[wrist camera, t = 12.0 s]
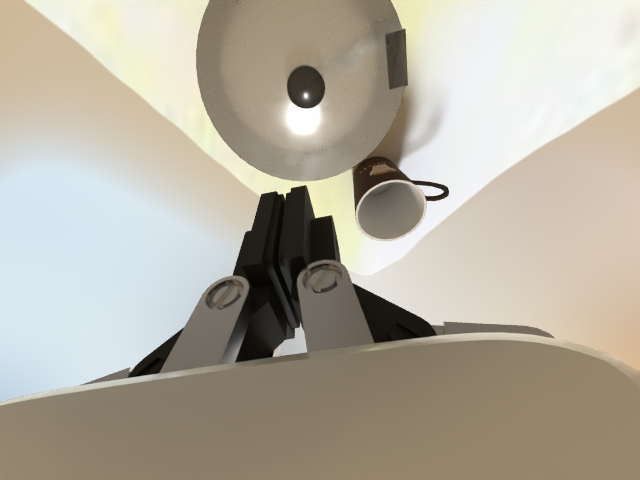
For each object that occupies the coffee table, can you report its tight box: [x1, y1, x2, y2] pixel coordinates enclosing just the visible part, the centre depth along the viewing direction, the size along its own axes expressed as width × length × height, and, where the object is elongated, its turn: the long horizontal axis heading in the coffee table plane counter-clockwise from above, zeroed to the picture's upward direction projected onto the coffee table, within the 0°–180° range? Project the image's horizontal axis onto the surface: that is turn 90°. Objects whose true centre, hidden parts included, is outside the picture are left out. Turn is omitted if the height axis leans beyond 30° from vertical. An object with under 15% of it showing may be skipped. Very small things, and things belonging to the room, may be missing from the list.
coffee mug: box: [353, 157, 449, 241], centre depth 40 cm, size 12×9×10 cm
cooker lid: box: [196, 0, 408, 181], centre depth 25 cm, size 17×17×3 cm
